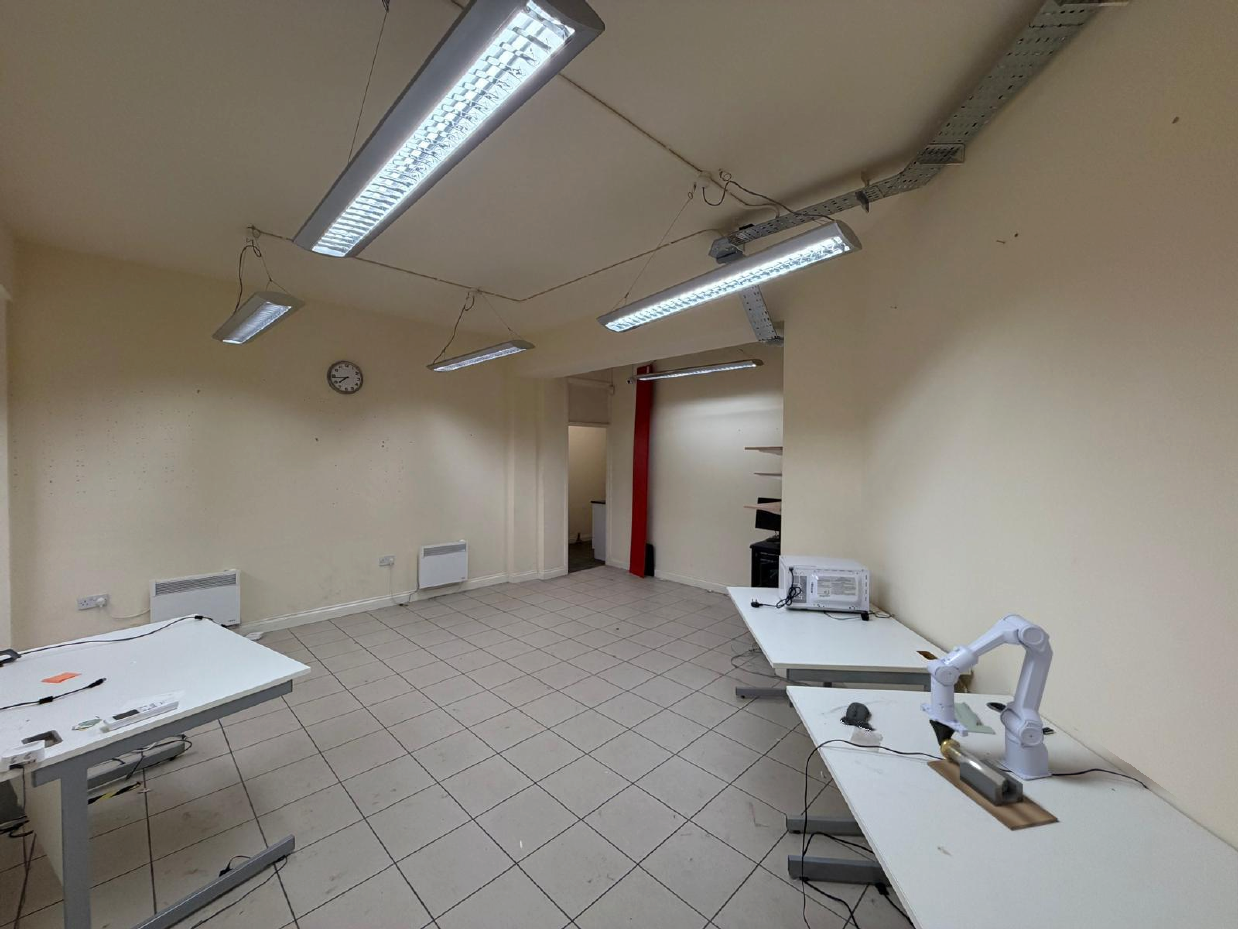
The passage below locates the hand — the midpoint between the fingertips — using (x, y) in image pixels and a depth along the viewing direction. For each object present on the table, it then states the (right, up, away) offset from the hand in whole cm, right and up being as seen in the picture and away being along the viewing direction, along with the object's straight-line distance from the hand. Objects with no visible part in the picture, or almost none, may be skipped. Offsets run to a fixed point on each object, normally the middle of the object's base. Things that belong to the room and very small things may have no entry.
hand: (943, 746), depth 134 cm
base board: (+2, -4, -14) cm, 15 cm away
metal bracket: (+19, -4, +19) cm, 28 cm away
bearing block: (+2, -4, -14) cm, 15 cm away
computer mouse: (-14, -5, +22) cm, 27 cm away
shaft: (+2, -2, -9) cm, 10 cm away
